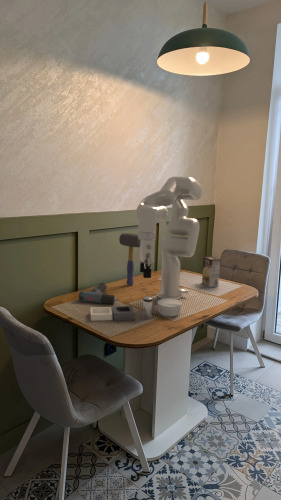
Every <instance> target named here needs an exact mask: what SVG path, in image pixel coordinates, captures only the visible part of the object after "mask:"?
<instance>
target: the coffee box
mask: <svg viewBox="0 0 281 500" xmlns="http://www.w3.org/2000/svg"><path fill="white" fill-rule="evenodd" d="M220 270H221V259H220V258H217V257H215V256H203V264H202V275H201V277H202V278H201V283H202V284H203V285H205V286H207V287H209V288H212V287H213V288H214V287H218V286H219V285H220V284H219V281H220Z"/></svg>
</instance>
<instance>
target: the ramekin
mask: <svg viewBox="0 0 281 500" xmlns="http://www.w3.org/2000/svg"><path fill="white" fill-rule="evenodd" d="M156 302H157V303H156V304H157V310H158V312H159V314H160V315H162V316H164V317H177V316H179V315H180V312H181V308H182V304H183V303H182V301H181V300H180V299H178V300H176V299H170V298H164V299H161V298H159V300H157V301H156Z"/></svg>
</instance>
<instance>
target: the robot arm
mask: <svg viewBox="0 0 281 500" xmlns="http://www.w3.org/2000/svg"><path fill="white" fill-rule="evenodd" d="M202 196H203V187H202V185H201V184H200V183H199V181H198V180H196V179H194V178H193V177H190V176H172V177H169V178H168V179H167V180H166V181H165V183H164V184H163V186H162V187H161V188H160V190H158V191H156V192H154V193H151V194H149V195H147V196H146V197H144V198H143V199H142V200H141V201H140V203H139V204H138V205H137V207H136V210H135V216H136V219H137V220H138V229H137V235H138V239H140V247H139V259H140V264H139V266H140V267H139V272H140V273H143V275H142V276H143V277H142V278H143V279H151V278H152V264H154V263H155V240H156V239H157V224H163V223H164V222H166V221H167V220H168V219H169V222H168V228H167V231H168V233H169V234H170V235H172V236H170V235H169V236H165V237H163V238H162V240H161V242H160V251H161V274H160V275H161V276H160V277H161V278H160V291H159V292H157V295H156V296H157V297H158V299H164V298H170V299H176V300H180V299H182V295H183V294H185V295H186V294H187V295H188V294H189V290H188V289H185V288H182V289H181V288H180V283H181V282H180V280H181V279H180V278H181V277H180V276H181V262H180V260H179V258H178V257H181V258H192V257H194V256H195V253H196V248H197V244H198V238H199V234H200V221H199V220H198V219H196V218H192V217H188V216H189V207H188V206H187V204H186V203H185V202H184V201H198V200H200V199H201V198H202ZM168 206H171V208H172V209H171V213H169V210H168V208H167V207H168ZM169 214H171V215H170V217H169Z"/></svg>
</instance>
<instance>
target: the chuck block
mask: <svg viewBox="0 0 281 500" xmlns="http://www.w3.org/2000/svg"><path fill="white" fill-rule="evenodd" d="M111 310H112V321H114V322H118V321H119V322H121V321H124V322H126V321H135V319H136V316H135V315H136V312H135V309H134V308H133V305H112V306H111Z"/></svg>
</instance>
